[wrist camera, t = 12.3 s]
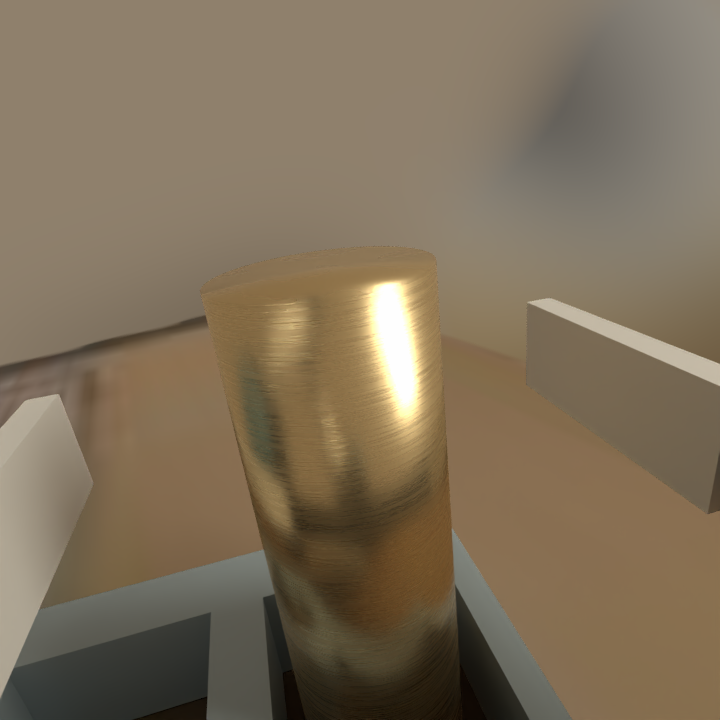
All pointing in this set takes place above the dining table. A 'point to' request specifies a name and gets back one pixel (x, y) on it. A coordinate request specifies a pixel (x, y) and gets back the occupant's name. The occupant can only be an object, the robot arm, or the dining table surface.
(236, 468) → the dining table surface
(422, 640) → the gold metal cylinder
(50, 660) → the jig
